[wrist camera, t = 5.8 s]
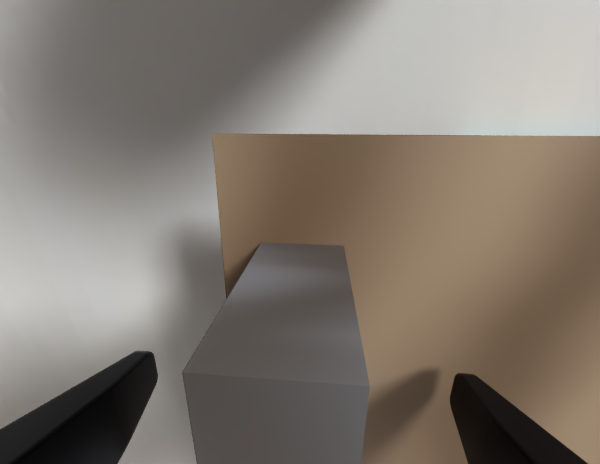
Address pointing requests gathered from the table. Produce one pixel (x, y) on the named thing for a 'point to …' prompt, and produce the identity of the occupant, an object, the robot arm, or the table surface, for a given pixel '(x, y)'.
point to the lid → (397, 295)
